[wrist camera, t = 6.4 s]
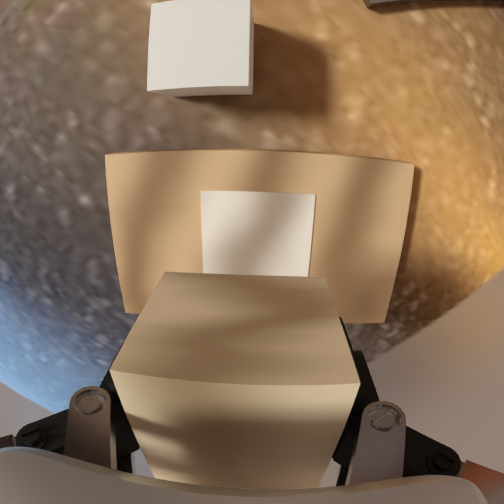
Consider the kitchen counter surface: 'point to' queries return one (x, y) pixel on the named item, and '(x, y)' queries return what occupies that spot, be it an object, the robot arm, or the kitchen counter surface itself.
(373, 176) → the base board
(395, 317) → the kitchen counter surface
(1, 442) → the robot arm
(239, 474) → the maple block
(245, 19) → the white cube
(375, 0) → the play button award
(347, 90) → the kitchen counter surface
